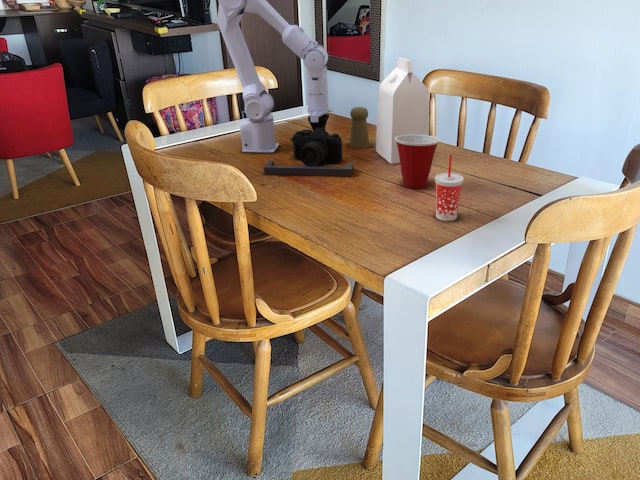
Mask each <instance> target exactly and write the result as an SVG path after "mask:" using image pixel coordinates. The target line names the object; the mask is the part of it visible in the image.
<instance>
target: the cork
mask: <svg viewBox="0 0 640 480" xmlns="http://www.w3.org/2000/svg"><path fill="white" fill-rule="evenodd" d="M349 115H350V118H351V129H350V137H349V146H350V147H351V148H358V149H361V148H367V147H369V146H370V145H371V144H370V137H369V129H368V123H367V119H368V117H369V111H368V108H366V107H364V106H356V107H352V108H351V109H350V114H349Z"/></svg>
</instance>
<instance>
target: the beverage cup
mask: <svg viewBox="0 0 640 480" xmlns="http://www.w3.org/2000/svg"><path fill="white" fill-rule="evenodd" d="M448 157H449V158H448V160H449V161H448V172H443V173H438V174H435V176H434V183H435V217H436V219H438V220H440V221H444V222H449V221H450V222H451V221H455V220H457V218H458V213H459V206H460V200H461V192H462V186H463V183H464V179H465V178H464V176H463V175H461V174H458V173H453V172H452V161H453V154H449V156H448Z"/></svg>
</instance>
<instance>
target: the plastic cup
mask: <svg viewBox="0 0 640 480" xmlns="http://www.w3.org/2000/svg"><path fill="white" fill-rule="evenodd" d="M395 141H396V143H397V147H398V152H399V159H400V163H399V166H400V173H401V178H402V183H403V186H404V187H406V188H407V189H414V190H418V189H419V190H420V189H424V188H425V187H427V185H428V181H429V177H430V173H431V170H432V165H433V162H434V156H435V153H436V149H437V146H438V144H439V143H440V138H438V137H437V136H432V135H430V134H429V135H419V134H407V135H399V136H397V137H395Z"/></svg>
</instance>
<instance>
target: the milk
mask: <svg viewBox="0 0 640 480" xmlns="http://www.w3.org/2000/svg"><path fill="white" fill-rule="evenodd" d="M376 114H377V116H376V135H375V152H376V153H377V154H378V155H380V156H381V157H382V158H383V159H384V160H386V161H387V162H388V163H389V164H390V165H393V164H400V159H399V152H398V147H397V143H396V141H395V137H397V136H399V135H407V134H419V135H429V136H430V91H429V89H428V87H427V85H425V84H424V82H422V81H421V79H420V78H418V77H417V76H416V74H415V73H414V72H413V63H412V60H411V59H408V58H406V57H402V56H401V57H397V60H396V65H395V68H394V69H393V70H392V71H391V72H390V73H389V74H388V75H387V76H386V77H385V78H384V79H383V81H381V83H380V84H379V86H378V93H377V112H376Z"/></svg>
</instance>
